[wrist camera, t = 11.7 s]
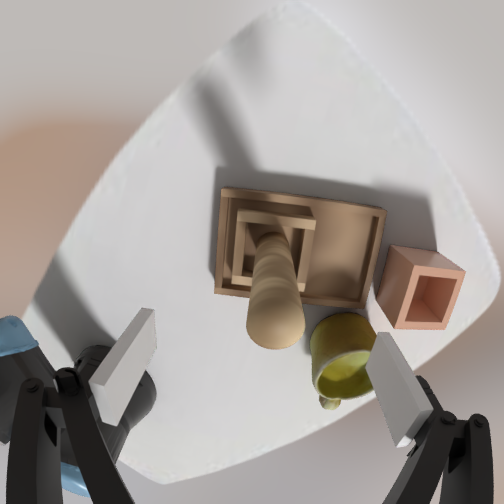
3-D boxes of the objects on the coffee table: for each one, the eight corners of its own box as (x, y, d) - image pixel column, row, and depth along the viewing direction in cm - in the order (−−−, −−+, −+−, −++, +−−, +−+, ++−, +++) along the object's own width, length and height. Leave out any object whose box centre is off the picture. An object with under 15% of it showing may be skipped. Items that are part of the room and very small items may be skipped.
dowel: (255, 260, 33) (243, 346, 18) (258, 229, 32) (249, 297, 17) (286, 264, 33) (299, 351, 18) (291, 233, 32) (310, 303, 17)
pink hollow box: (375, 300, 35) (394, 328, 29) (390, 244, 33) (414, 265, 26) (422, 303, 35) (445, 329, 29) (437, 251, 33) (465, 271, 26)
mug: (324, 293, 33) (355, 363, 25) (380, 307, 37) (412, 365, 29) (274, 353, 39) (289, 417, 31) (330, 359, 43) (349, 414, 35)
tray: (217, 285, 36) (212, 297, 33) (224, 186, 32) (219, 189, 29) (359, 300, 36) (366, 312, 32) (380, 207, 32) (390, 212, 29)
